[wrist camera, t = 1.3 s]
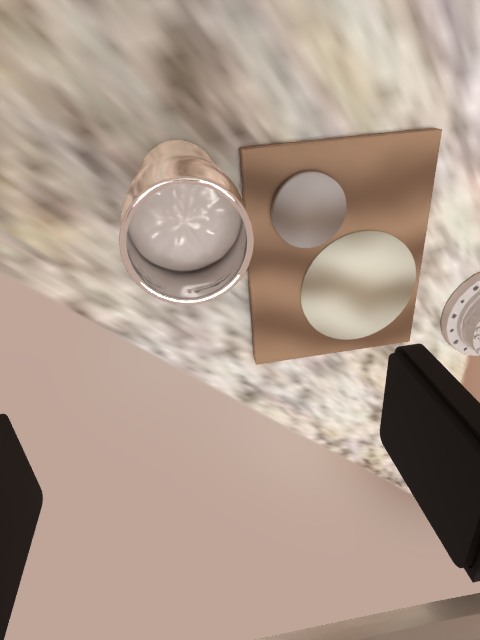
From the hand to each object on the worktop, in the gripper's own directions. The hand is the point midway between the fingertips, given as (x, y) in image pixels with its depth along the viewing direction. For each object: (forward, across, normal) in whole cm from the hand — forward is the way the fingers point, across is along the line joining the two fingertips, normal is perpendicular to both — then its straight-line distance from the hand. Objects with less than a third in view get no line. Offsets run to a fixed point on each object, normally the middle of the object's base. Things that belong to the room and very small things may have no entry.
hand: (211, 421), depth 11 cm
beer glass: (+27, 0, 0) cm, 27 cm away
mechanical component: (+28, -30, +16) cm, 44 cm away
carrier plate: (+27, -13, +8) cm, 31 cm away
